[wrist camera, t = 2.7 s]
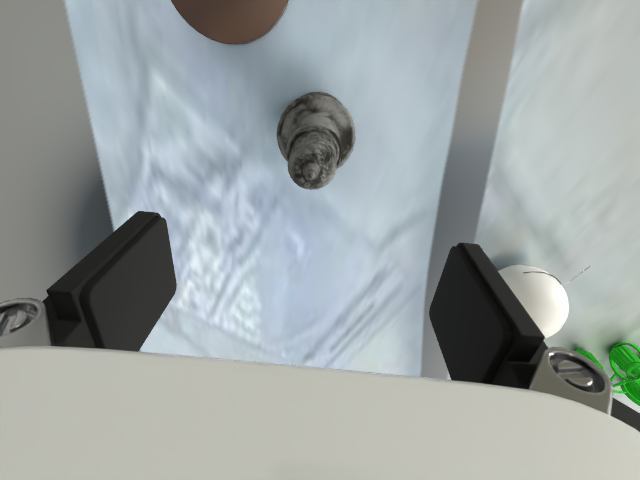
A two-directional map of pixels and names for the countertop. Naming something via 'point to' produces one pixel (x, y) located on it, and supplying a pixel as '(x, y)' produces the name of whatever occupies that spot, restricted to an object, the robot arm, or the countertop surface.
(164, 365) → the robot arm
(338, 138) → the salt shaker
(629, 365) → the chandelier
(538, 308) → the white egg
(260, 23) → the coaster
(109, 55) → the countertop surface
